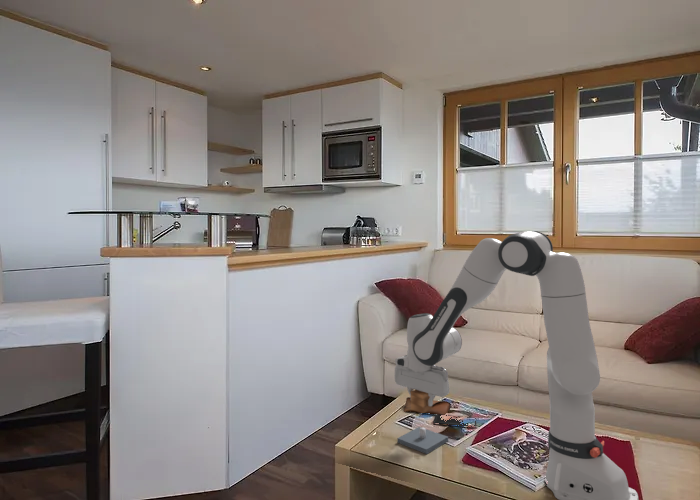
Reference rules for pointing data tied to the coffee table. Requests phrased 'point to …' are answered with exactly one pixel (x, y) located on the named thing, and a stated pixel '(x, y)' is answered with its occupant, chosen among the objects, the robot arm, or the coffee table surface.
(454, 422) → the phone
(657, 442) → the coffee table surface
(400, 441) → the carrier plate
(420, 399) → the block
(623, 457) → the coffee table surface
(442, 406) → the sunglasses case
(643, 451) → the coffee table surface
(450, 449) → the coffee table surface
